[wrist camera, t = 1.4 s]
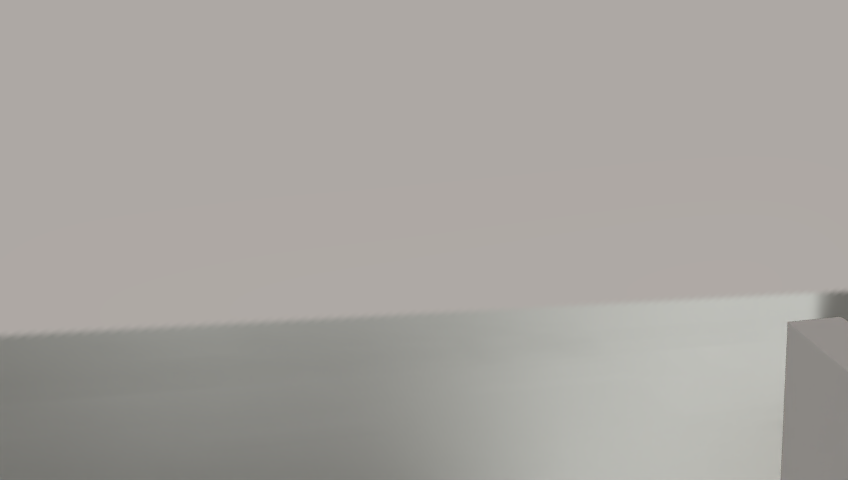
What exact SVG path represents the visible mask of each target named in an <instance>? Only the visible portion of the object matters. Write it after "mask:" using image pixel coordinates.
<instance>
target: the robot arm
mask: <svg viewBox="0 0 848 480" xmlns="http://www.w3.org/2000/svg"><path fill="white" fill-rule="evenodd" d="M781 480H848V321H846V320H845V319H844V318H842V317H831V318H822V319H812V320H802V321H793V322H788V325H787V347H786V370H785V392H784V415H783V437H782V460H781Z"/></svg>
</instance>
